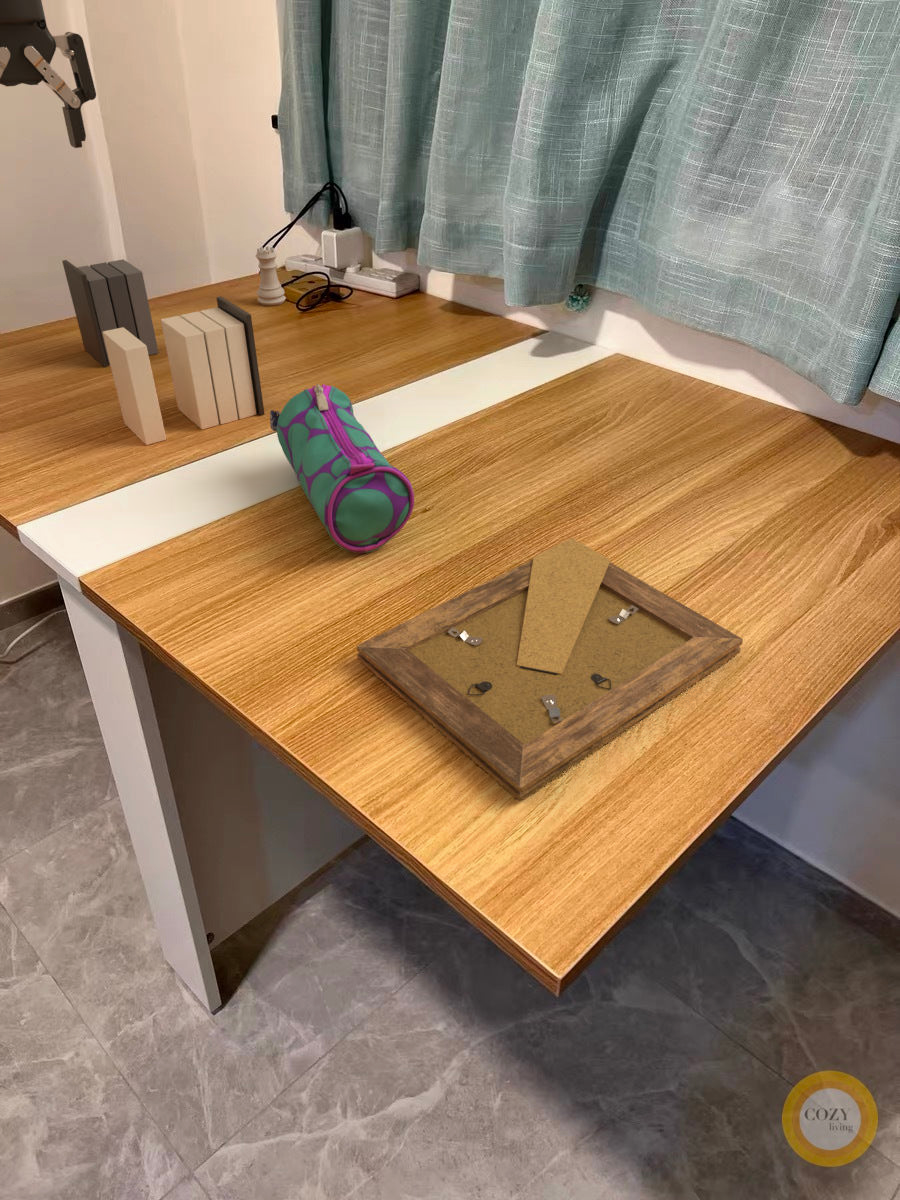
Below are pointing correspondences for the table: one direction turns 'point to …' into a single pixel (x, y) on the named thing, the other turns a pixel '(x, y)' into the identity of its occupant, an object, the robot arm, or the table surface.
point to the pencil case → (342, 470)
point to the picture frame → (546, 662)
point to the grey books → (110, 304)
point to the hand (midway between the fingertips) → (35, 150)
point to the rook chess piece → (269, 279)
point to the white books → (214, 364)
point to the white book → (134, 385)
